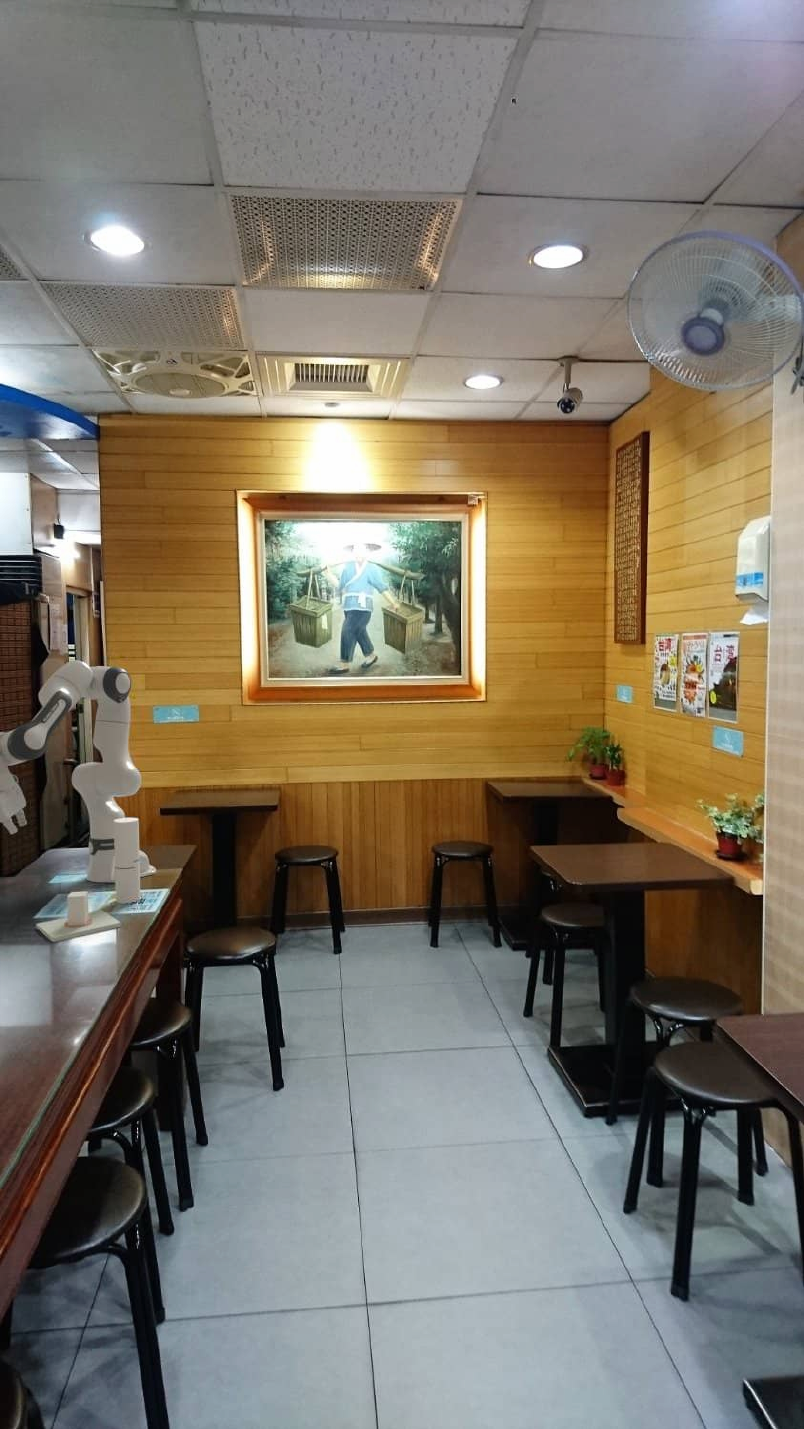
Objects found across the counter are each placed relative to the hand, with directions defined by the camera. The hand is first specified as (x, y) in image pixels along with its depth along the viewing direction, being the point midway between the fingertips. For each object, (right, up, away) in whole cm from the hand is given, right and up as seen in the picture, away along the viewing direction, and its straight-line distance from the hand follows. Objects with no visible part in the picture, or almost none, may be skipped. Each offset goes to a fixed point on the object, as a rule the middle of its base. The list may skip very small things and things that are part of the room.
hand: (19, 829), depth 223 cm
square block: (+20, -25, -8) cm, 33 cm away
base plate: (+20, -26, -8) cm, 34 cm away
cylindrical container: (+26, -24, +16) cm, 39 cm away
